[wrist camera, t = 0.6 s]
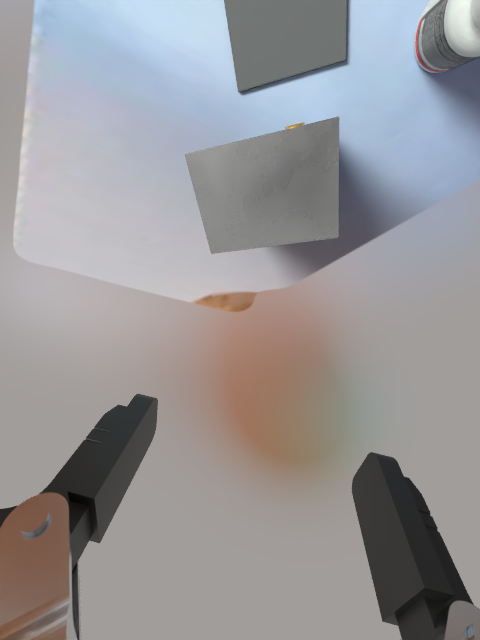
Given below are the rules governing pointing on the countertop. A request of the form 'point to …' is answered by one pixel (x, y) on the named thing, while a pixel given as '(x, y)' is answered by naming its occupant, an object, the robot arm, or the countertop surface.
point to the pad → (284, 38)
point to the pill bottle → (448, 34)
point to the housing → (270, 188)
